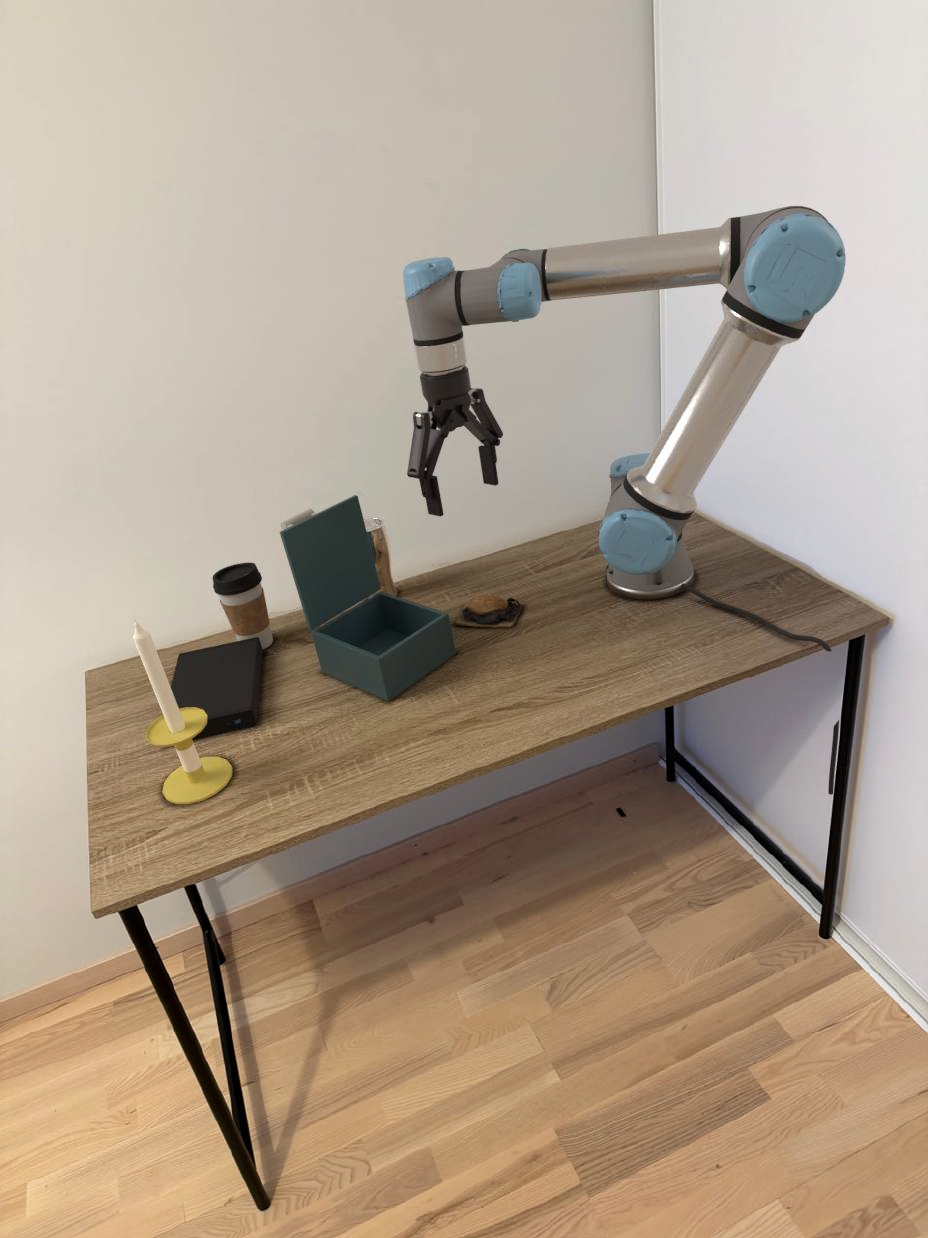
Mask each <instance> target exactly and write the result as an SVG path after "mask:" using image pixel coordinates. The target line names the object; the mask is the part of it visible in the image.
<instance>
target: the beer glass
mask: <svg viewBox="0 0 928 1238" xmlns="http://www.w3.org/2000/svg"><path fill="white" fill-rule="evenodd" d="M363 519H364V523H365V527H366V531H367V535H368V539H369V543H370V547H371V551H372V555H373V559H374V563H375V567H376V571H377V575H378V579H379V583H380V587H381V589H380V590H379V591H377V592H375V593H374V594H372V595H370V596H369V597H367V598H366V599H368V598H370V597H371V596H373V595H375V594H377V593H378V592H380V591H381V592H384V593H387V594H390V595H394V596H397V597H398V589H397V587H396V584H395V582H394V578H393V574H392V573H393V572H392V550H391V543H390V539H389V534H388V531H387V527H386V525H385V521H384V519H382V518H380V517H367V518H363Z"/></svg>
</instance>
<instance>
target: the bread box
mask: <svg viewBox="0 0 928 1238" xmlns="http://www.w3.org/2000/svg"><path fill="white" fill-rule="evenodd" d="M310 634H311V637H312V640H313V644H314V648H315V652H316V656H317V658H318V662H319V666H320V670H321V672H322V673H324V674H326V675H328V676H331V677H332V678H335V679H336V680H340V681H342V682H344V683H346V684H348V685H351V686H353V687H354V688H357V689H359V690H362V691H365V692H366V693H367V694H371V695H373V696H375V697H377V698H379V699H381V700H384V701H386V702H390V701H391V700H393V699H395V698H396V697H397V696H398V695H400V694H402V693H403V692H404V691H405V690H407V689H409V688H410V687H412V686H413V685H414V684H415V683H417V682H419V681H420V680H421V679H423V678H424V677H425V676H427V675H428V674H430V673H431V672H432V671H434V670H436V669H437V668H438V667H439V666H441V665H442V664H444V663H445V662H446V661H448V660H449V659H451V658H452V657H454V656H455V655H457V654H456V653H457V652H456V646H455V641H454V636H453V630H452V624H451V620H450V613H448V612H445V611H442V610H439V609H436V608H433V607H430V606H427V605H424V604H421V603H418V602H415V601H412V600H409V599H406V598H402V597H400V596H398V595H397V596H394V595H390V594H387V593H384V592H381V591H380V592H378V593H377V594H375V595H373V596H371V597H370V598H368V599H367V598H365V599H364V600H362V601H360V602H359V603H357V604H355V605H354V606H352V607H350V608H349V609H347V610H345V611H344V612H342V613H340V614H339V615H337V616H335V617H333V618H332V619H330V620H328V621H327V622H325V623H323V624H322V625H320V626H318V627H317V628H315V629H313V630H312V631H311V633H310Z"/></svg>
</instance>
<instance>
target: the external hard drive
mask: <svg viewBox="0 0 928 1238" xmlns="http://www.w3.org/2000/svg"><path fill="white" fill-rule="evenodd" d="M263 651H264V649H262V646H261V643H260V640H259V638H258V637H255V638H250V639H246V640H241V641H238V640H237V641H232V642H227V643H221V644H218V645H213V646H209V647H204V648H199V649H195V650H189V651H185V652H180V653H178V656H177V659H176V663H175V667H174V671H173V675H172V679H171V683H170V687H171V690H172V692H173V695H174V697H175V700H176V703H177V705H178V708H179V709H181V708H185V707H196V708H199V709H202V710H204V711H205V713H206V714H207V715H208V719H207V724H206V726H205V727H204V729H203V730H202V731H201V732H200V733H199V734H197V735H196V736H195V737H194V738H192V740H193V741H194V740H198V739H203V738H207V737H211V736H216V735H220V734H225V733H230V732H233V731H234V732H235V731H238V730H243V729H248V728H252V727H256V726H257V723H258V712H259V710H258V709H259V698H260V686H261V674H262V664H263V663H262V662H263Z"/></svg>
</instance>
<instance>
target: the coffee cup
mask: <svg viewBox="0 0 928 1238" xmlns="http://www.w3.org/2000/svg"><path fill="white" fill-rule="evenodd" d="M262 580H263V576H262V574H261V572H260V571H259V569H258V567H257V564H256V563H254V562H240V563H234V564H231V565H227V566H225V567H223V568H221V569H219V570H218V571H216V572H215V573H214V574H213V575H212V583H213V584H212V588H213V591H214V593H215V594H216V595H218V598H219V603H220V605H221V607H222V609H223V611H224V613H225V615H226V616H225V617H226V618H227V621H228V622H229V625H230V627H231V629H232V631H233V633H234V635H235V638H236V640H237V641H241V640H246V639H250V638H255V637H258V638H259V640H260V643H261V646H262V649H263V650H265V649H267V648H268V647H270V646H271V645H272V644H273V642H274V637H273V632H272V627H271V621H270V618H269V617H270V616H269V612H268V606H267V602H266V595H265V591H264V588H263V586H262Z"/></svg>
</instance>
